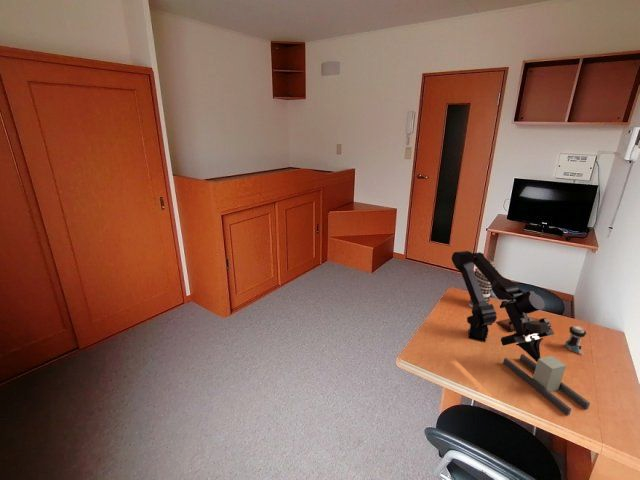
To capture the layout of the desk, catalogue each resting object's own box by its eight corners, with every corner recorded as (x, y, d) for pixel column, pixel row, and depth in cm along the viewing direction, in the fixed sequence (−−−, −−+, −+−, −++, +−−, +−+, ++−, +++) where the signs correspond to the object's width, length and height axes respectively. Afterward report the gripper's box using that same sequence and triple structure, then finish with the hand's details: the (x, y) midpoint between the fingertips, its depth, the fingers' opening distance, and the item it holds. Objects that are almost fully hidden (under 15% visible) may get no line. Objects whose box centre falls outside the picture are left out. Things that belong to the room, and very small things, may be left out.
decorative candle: (469, 300, 167) (478, 255, 159) (489, 305, 163) (499, 259, 155) (467, 307, 160) (476, 261, 152) (487, 313, 155) (498, 265, 147)
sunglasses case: (524, 316, 153) (533, 309, 148) (534, 330, 149) (544, 323, 144) (494, 322, 148) (503, 315, 143) (503, 336, 143) (512, 330, 138)
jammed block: (531, 382, 110) (538, 358, 107) (544, 379, 112) (551, 355, 109) (544, 393, 106) (552, 368, 103) (558, 389, 108) (566, 365, 104)
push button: (586, 354, 128) (594, 332, 124) (577, 356, 126) (584, 335, 123) (569, 344, 134) (576, 323, 130) (560, 346, 132) (567, 325, 129)
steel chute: (501, 366, 120) (503, 358, 119) (521, 361, 123) (524, 353, 121) (564, 418, 98) (568, 410, 97) (588, 411, 101) (591, 402, 100)
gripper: (514, 315, 107) (537, 364, 101) (556, 307, 113) (579, 353, 106) (491, 322, 117) (510, 367, 110) (530, 315, 122) (551, 357, 116)
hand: (538, 361), depth 110 cm, fingers closed
